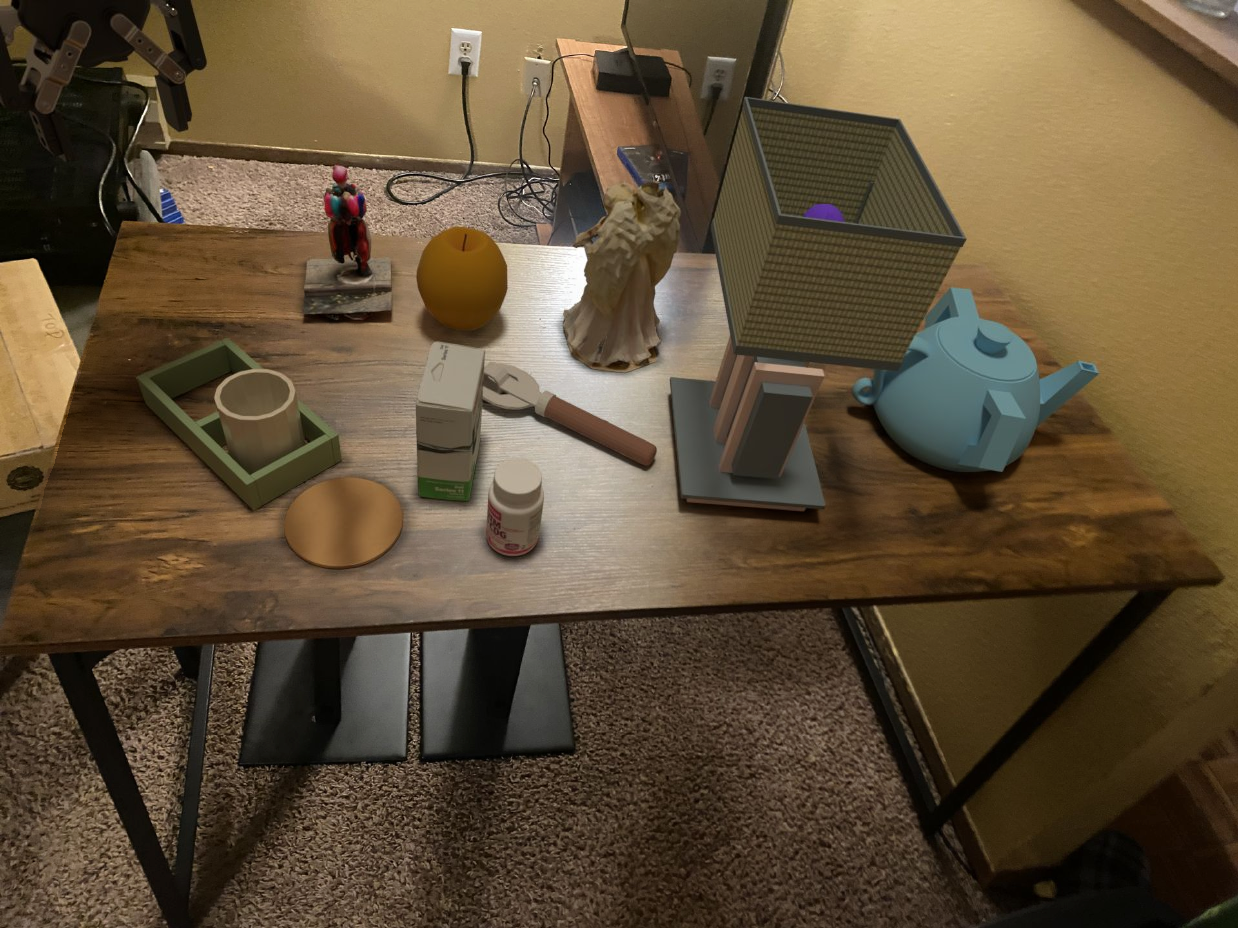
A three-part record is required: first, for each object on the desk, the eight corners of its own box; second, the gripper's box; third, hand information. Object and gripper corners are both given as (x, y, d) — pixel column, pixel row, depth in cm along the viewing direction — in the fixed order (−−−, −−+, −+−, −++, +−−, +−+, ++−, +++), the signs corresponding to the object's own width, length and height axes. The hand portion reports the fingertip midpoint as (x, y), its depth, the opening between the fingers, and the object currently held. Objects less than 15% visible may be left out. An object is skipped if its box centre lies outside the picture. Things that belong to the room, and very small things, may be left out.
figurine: (567, 300, 101) (588, 142, 86) (662, 318, 101) (698, 164, 87) (551, 363, 92) (571, 200, 78) (655, 382, 93) (693, 224, 78)
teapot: (961, 511, 86) (1028, 415, 76) (822, 402, 95) (866, 303, 85) (1049, 441, 96) (1119, 348, 86) (916, 348, 105) (966, 254, 95)
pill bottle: (475, 544, 74) (478, 482, 68) (501, 508, 77) (506, 446, 71) (523, 565, 73) (530, 504, 67) (547, 528, 77) (556, 467, 71)
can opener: (666, 438, 87) (672, 417, 85) (646, 475, 83) (651, 455, 81) (490, 369, 90) (491, 347, 88) (463, 402, 86) (463, 380, 84)
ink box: (470, 503, 77) (473, 411, 69) (416, 497, 77) (412, 404, 68) (482, 437, 83) (486, 344, 75) (432, 430, 83) (431, 337, 74)
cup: (241, 490, 74) (223, 427, 69) (225, 442, 78) (207, 378, 72) (314, 471, 77) (303, 409, 71) (295, 425, 81) (284, 362, 75)
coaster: (302, 584, 69) (301, 581, 69) (271, 498, 74) (271, 495, 74) (419, 547, 73) (419, 544, 73) (382, 468, 79) (382, 465, 78)
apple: (431, 357, 90) (429, 265, 82) (407, 303, 96) (403, 212, 87) (516, 343, 94) (523, 254, 85) (488, 292, 99) (492, 204, 91)
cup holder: (342, 460, 78) (338, 434, 76) (253, 510, 73) (246, 484, 71) (234, 364, 85) (228, 337, 82) (145, 404, 80) (135, 376, 77)
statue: (309, 274, 99) (290, 146, 89) (391, 273, 101) (382, 149, 91) (303, 322, 91) (281, 188, 81) (392, 321, 93) (381, 190, 83)
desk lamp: (818, 528, 82) (970, 239, 58) (677, 517, 80) (774, 214, 56) (788, 400, 94) (903, 119, 70) (665, 389, 92) (741, 96, 69)
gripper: (132, -134, 57) (186, 100, 69) (-111, -118, 49) (-2, 145, 61) (192, -100, 54) (238, 138, 66) (-53, -76, 46) (49, 191, 58)
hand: (123, 141), depth 63 cm, fingers open, 8 cm apart
